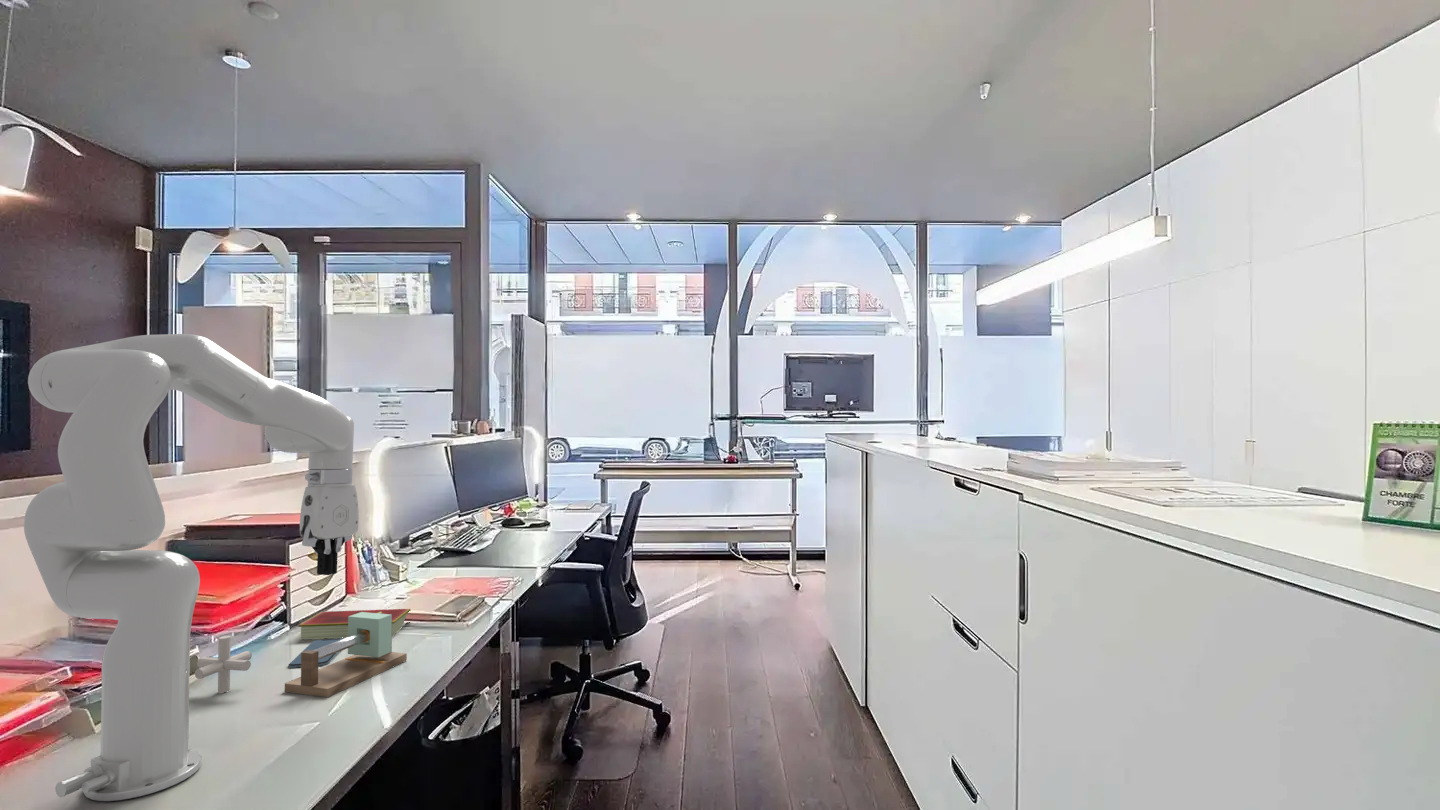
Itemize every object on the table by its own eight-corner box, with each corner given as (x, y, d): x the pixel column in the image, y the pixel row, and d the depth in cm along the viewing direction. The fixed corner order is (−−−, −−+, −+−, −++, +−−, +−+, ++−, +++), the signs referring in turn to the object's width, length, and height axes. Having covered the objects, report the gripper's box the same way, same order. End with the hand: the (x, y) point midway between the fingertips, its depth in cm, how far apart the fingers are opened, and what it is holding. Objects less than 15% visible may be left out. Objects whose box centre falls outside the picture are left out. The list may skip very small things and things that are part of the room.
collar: (378, 657, 138) (378, 619, 138) (347, 654, 140) (348, 616, 141) (391, 651, 142) (391, 614, 142) (361, 648, 144) (361, 611, 144)
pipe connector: (221, 704, 122) (222, 647, 122) (175, 700, 124) (176, 644, 124) (269, 683, 132) (269, 630, 132) (225, 679, 134) (226, 627, 134)
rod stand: (327, 697, 125) (328, 654, 125) (284, 691, 128) (285, 649, 128) (406, 660, 144) (406, 623, 144) (367, 656, 147) (367, 620, 147)
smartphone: (286, 664, 140) (313, 639, 155) (286, 673, 140) (313, 647, 155) (327, 661, 142) (349, 637, 156) (327, 670, 142) (349, 644, 156)
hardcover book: (321, 627, 170) (322, 610, 170) (410, 623, 173) (410, 607, 173) (298, 642, 158) (298, 623, 158) (393, 638, 161) (393, 620, 161)
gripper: (313, 480, 126) (309, 582, 125) (375, 477, 140) (372, 568, 139) (281, 480, 128) (277, 580, 127) (345, 476, 142) (342, 566, 141)
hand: (326, 573), depth 133 cm, fingers closed
